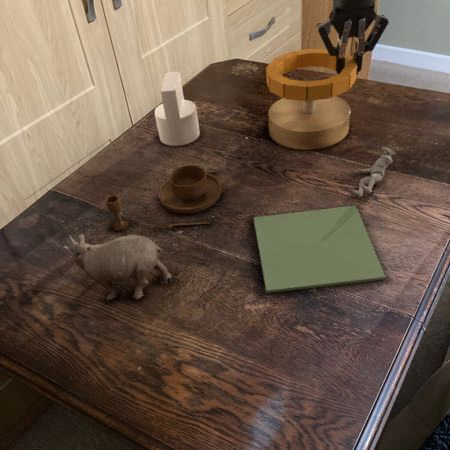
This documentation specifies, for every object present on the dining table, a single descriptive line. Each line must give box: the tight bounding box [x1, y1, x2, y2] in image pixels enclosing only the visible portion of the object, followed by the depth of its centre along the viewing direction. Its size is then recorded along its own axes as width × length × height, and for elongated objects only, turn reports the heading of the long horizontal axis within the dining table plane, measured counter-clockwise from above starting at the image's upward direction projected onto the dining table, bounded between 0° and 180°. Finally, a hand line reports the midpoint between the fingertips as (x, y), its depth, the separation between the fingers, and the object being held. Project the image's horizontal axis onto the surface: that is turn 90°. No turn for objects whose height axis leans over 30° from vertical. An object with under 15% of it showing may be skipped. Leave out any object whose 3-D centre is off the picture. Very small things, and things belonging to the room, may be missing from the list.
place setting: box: [104, 164, 222, 232], centre depth 91 cm, size 18×20×6 cm
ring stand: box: [267, 79, 351, 151], centre depth 103 cm, size 17×17×10 cm
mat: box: [253, 204, 386, 294], centre depth 80 cm, size 18×18×1 cm
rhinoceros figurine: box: [62, 233, 173, 301], centre depth 76 cm, size 8×14×15 cm
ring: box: [265, 48, 357, 101], centre depth 98 cm, size 17×17×3 cm
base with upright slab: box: [154, 71, 201, 147], centre depth 105 cm, size 9×9×12 cm
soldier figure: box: [351, 146, 397, 198], centre depth 90 cm, size 8×5×12 cm
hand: (348, 74), depth 98 cm, fingers closed on ring, 2 cm apart
